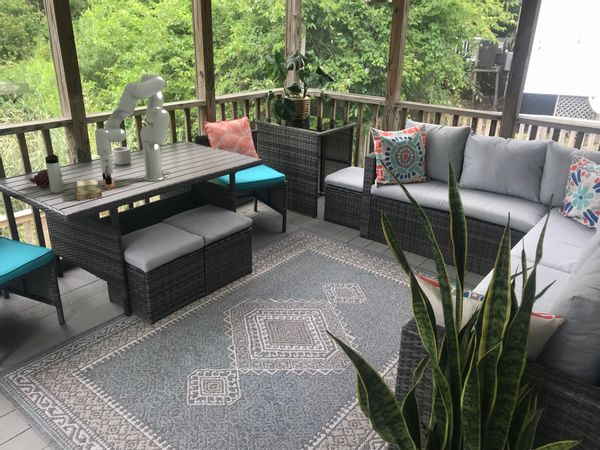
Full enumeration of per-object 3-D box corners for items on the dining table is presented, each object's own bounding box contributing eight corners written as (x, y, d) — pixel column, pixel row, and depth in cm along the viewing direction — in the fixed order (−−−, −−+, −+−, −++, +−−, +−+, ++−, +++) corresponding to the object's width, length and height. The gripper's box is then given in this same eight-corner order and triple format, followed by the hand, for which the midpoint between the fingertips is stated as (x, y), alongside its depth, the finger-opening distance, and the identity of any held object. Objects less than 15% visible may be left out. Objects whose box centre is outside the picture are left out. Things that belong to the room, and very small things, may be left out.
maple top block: (97, 185, 264) (96, 178, 263) (98, 191, 256) (97, 184, 254) (77, 187, 260) (76, 180, 259) (78, 193, 252) (77, 185, 250)
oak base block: (99, 192, 267) (98, 185, 265) (102, 198, 257) (101, 191, 255) (75, 195, 261) (74, 188, 260) (77, 201, 251) (76, 194, 250)
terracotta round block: (113, 186, 275) (112, 177, 273) (115, 189, 271) (114, 180, 269) (103, 187, 273) (102, 179, 271) (105, 190, 268) (104, 181, 266)
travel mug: (66, 190, 267) (60, 154, 259) (61, 193, 261) (54, 157, 253) (54, 189, 266) (48, 154, 259) (49, 193, 260) (42, 157, 253)
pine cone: (59, 181, 281) (57, 164, 277) (67, 185, 275) (65, 168, 271) (27, 188, 268) (24, 170, 264) (35, 192, 262) (32, 174, 258)
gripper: (114, 154, 258) (117, 185, 264) (108, 148, 272) (111, 177, 278) (99, 155, 255) (102, 186, 261) (94, 149, 269) (97, 178, 275)
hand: (107, 182), depth 270 cm, fingers open, 9 cm apart
